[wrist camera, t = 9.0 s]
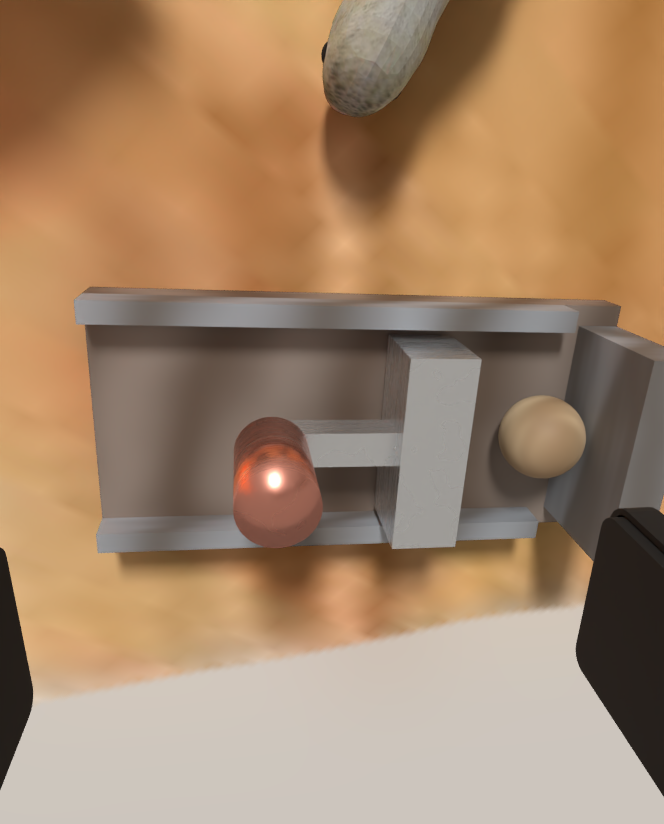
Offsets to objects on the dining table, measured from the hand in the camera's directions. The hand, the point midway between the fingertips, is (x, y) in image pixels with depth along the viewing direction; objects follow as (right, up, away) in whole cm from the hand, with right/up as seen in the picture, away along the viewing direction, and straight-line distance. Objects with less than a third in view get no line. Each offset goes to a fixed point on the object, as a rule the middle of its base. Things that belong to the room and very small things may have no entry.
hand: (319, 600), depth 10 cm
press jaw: (+1, +2, +20) cm, 21 cm away
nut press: (+1, +3, +22) cm, 22 cm away
